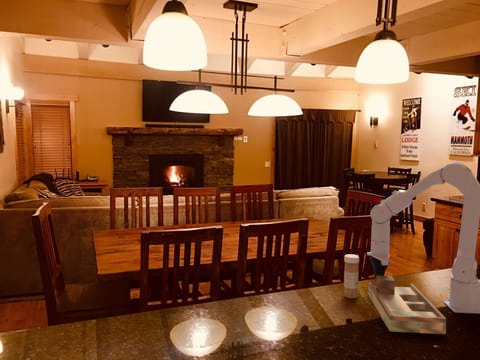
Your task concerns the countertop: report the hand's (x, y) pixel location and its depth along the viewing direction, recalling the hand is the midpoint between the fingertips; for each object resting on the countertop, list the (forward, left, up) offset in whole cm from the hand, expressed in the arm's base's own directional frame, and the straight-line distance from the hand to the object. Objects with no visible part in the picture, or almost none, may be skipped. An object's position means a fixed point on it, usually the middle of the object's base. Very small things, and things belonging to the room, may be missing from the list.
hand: (378, 280), depth 131 cm
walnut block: (0, +8, -1) cm, 8 cm away
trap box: (-3, +16, -4) cm, 17 cm away
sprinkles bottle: (+10, +5, -4) cm, 12 cm away
